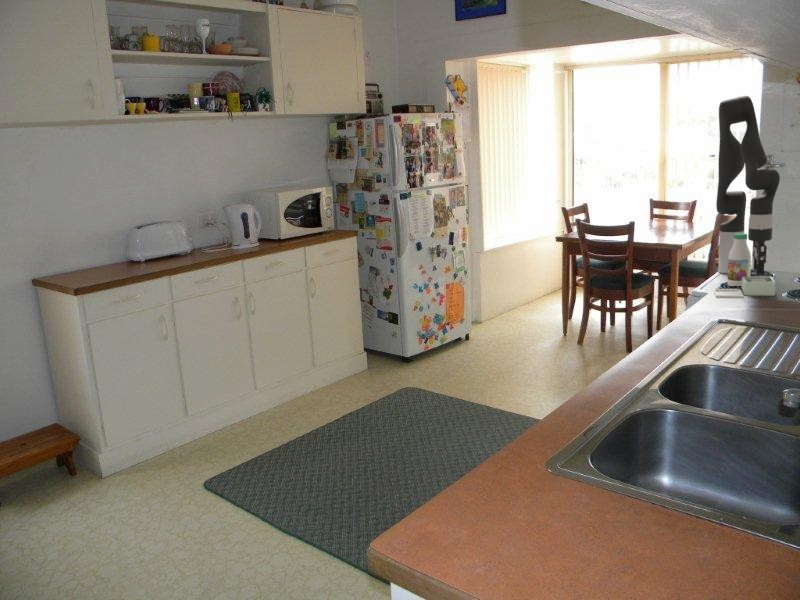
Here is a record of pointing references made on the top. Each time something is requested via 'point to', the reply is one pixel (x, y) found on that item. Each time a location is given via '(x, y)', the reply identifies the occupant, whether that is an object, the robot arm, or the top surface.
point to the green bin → (758, 286)
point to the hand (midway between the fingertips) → (758, 272)
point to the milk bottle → (739, 260)
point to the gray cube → (757, 280)
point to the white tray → (728, 293)
